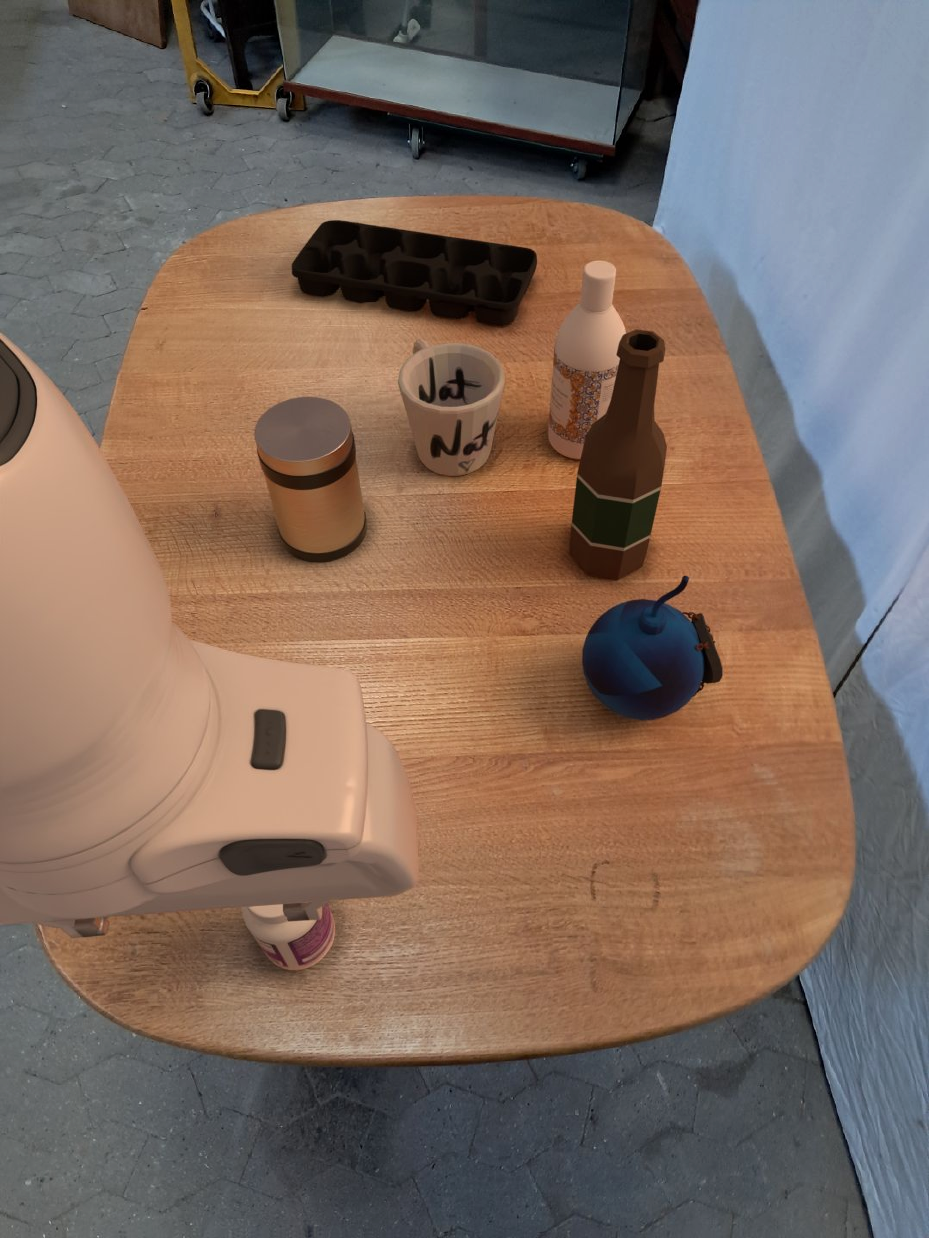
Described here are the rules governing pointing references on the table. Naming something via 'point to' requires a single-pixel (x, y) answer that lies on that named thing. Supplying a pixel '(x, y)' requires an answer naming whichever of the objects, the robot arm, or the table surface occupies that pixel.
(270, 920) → the pill bottle
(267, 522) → the table surface
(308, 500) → the copper canister
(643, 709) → the bomb
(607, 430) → the beer bottle
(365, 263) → the egg carton
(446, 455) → the mug
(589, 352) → the bath foam
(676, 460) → the table surface
